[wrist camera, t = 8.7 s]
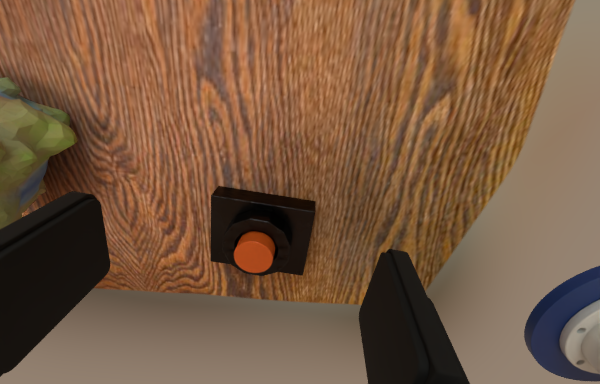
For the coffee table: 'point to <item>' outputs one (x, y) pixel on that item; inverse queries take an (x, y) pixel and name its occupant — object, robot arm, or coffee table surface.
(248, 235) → the button
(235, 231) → the control block
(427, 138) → the coffee table surface
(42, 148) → the decorative rock
